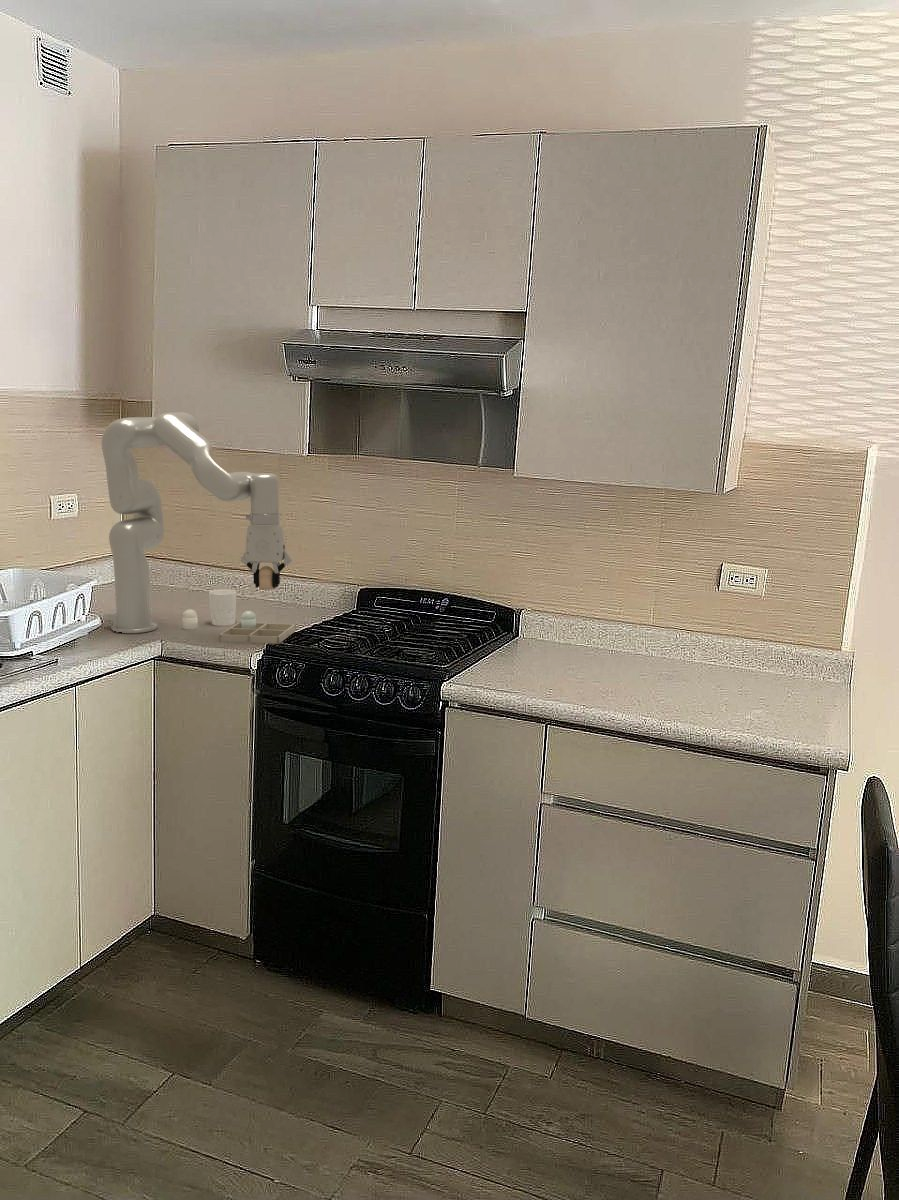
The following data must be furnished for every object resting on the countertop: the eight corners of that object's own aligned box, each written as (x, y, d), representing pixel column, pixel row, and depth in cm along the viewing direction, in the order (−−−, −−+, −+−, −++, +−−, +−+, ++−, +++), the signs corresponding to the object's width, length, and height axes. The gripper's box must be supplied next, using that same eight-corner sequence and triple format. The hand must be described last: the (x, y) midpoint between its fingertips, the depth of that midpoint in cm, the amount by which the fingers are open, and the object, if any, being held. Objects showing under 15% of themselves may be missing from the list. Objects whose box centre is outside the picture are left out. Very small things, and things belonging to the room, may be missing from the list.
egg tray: (219, 643, 287) (218, 634, 286) (239, 630, 303) (238, 621, 303) (279, 645, 285) (278, 637, 284) (295, 632, 301) (295, 624, 301)
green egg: (239, 633, 297) (238, 612, 295) (244, 630, 301) (243, 609, 300) (253, 633, 296) (253, 612, 295) (258, 630, 300) (257, 609, 299)
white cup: (222, 629, 304) (221, 595, 302) (204, 625, 309) (202, 592, 307) (242, 625, 310) (241, 591, 308) (224, 621, 315) (223, 588, 313)
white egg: (180, 631, 301) (179, 610, 300) (186, 628, 305) (185, 607, 304) (194, 632, 300) (194, 611, 299) (200, 628, 304) (199, 608, 303)
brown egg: (257, 589, 285) (256, 567, 284) (261, 586, 289) (261, 564, 288) (272, 589, 284) (271, 567, 283) (276, 587, 288) (276, 565, 287)
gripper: (230, 520, 281) (232, 588, 284) (291, 522, 279) (293, 590, 282) (239, 517, 288) (241, 583, 291) (299, 518, 286) (300, 585, 289)
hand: (266, 586), depth 287 cm, fingers closed on brown egg, 4 cm apart
